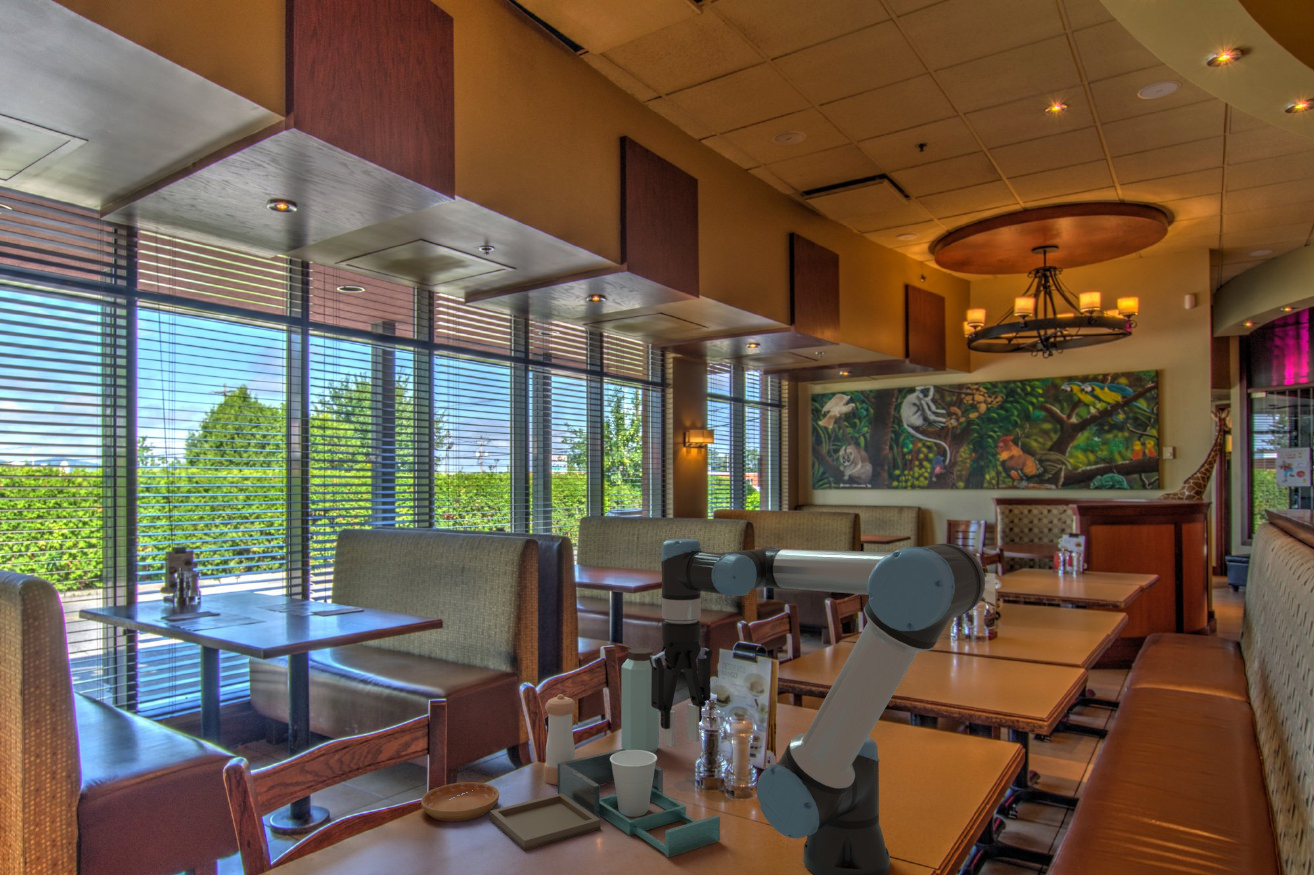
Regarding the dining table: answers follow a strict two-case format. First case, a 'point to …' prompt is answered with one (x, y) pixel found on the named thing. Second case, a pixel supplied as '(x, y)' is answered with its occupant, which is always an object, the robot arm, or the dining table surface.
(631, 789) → the cup
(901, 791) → the dining table surface
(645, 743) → the water bottle
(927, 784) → the dining table surface
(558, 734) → the pepper shaker
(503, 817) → the tray
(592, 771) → the cubby
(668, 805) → the caddy
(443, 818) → the saucer
